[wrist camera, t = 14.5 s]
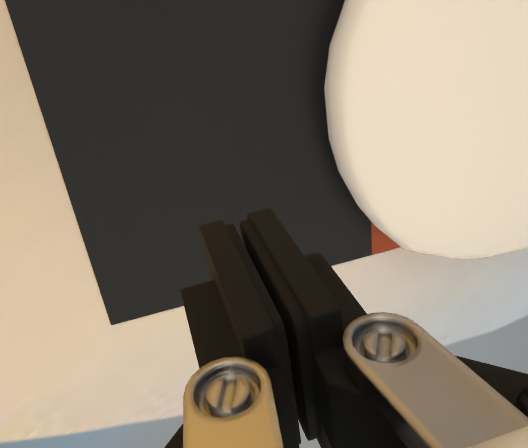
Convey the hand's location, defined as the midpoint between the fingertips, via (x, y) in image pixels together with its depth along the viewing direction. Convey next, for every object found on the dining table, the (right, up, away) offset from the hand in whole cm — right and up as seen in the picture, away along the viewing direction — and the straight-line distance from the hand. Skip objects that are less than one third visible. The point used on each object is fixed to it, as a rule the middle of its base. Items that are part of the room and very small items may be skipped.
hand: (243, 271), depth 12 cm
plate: (+17, +12, +24) cm, 32 cm away
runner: (+7, +10, +22) cm, 25 cm away
